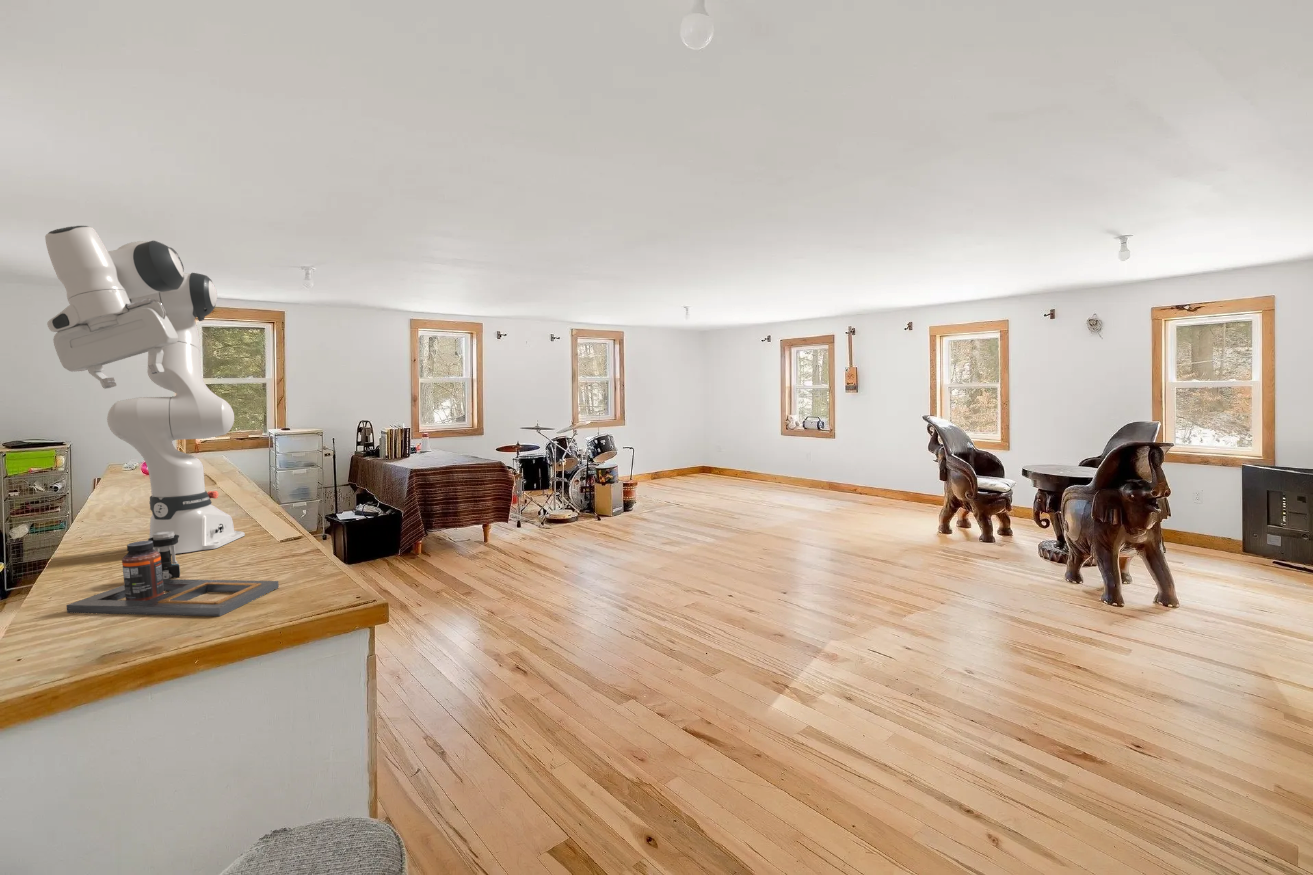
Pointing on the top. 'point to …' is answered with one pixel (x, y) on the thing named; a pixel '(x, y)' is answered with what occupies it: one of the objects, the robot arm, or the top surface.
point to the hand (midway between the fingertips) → (134, 380)
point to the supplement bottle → (142, 572)
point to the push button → (167, 553)
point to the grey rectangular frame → (177, 598)
